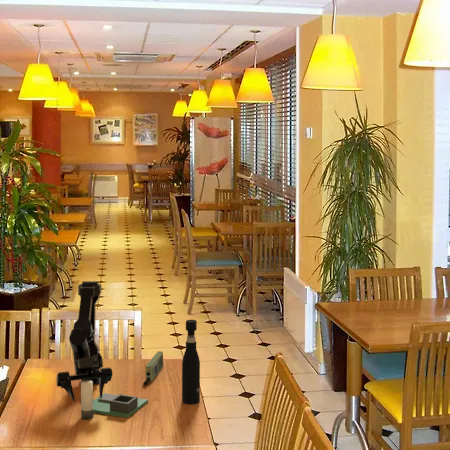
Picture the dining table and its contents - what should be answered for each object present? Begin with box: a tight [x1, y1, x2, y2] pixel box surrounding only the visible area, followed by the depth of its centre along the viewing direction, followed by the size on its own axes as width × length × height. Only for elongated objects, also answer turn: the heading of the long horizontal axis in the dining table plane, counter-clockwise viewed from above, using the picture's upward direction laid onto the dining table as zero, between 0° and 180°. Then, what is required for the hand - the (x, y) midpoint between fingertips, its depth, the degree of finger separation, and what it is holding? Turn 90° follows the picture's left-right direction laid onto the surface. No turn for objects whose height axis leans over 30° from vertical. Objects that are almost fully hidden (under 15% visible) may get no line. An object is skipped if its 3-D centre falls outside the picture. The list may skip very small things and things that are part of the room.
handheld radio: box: [143, 350, 164, 386], centre depth 304 cm, size 7×3×25 cm
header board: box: [93, 392, 149, 419], centre depth 271 cm, size 18×16×4 cm
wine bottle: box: [181, 319, 201, 406], centre depth 275 cm, size 6×6×30 cm
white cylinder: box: [80, 380, 94, 421], centre depth 261 cm, size 4×4×12 cm
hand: (87, 399), depth 259 cm, fingers open, 9 cm apart
